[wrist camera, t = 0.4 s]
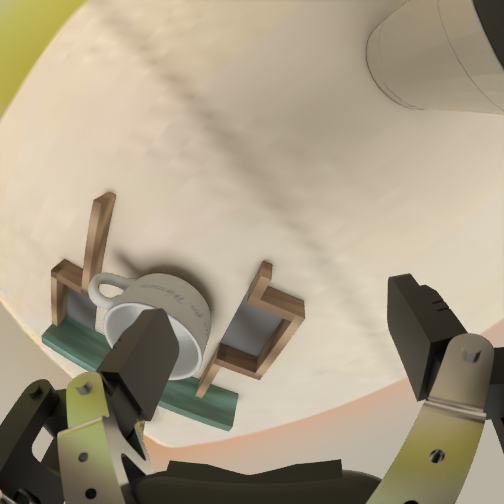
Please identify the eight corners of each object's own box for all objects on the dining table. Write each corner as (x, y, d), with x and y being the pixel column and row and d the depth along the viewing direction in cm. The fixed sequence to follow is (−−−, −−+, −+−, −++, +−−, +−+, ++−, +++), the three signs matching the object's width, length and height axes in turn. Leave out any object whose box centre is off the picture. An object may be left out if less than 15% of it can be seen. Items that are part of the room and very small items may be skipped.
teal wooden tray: (74, 176, 28) (40, 191, 23) (315, 283, 31) (320, 319, 26) (62, 318, 38) (42, 342, 33) (234, 399, 41) (228, 431, 35)
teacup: (236, 316, 34) (224, 366, 27) (172, 347, 37) (152, 392, 30) (156, 220, 30) (120, 254, 23) (99, 268, 33) (64, 305, 26)
